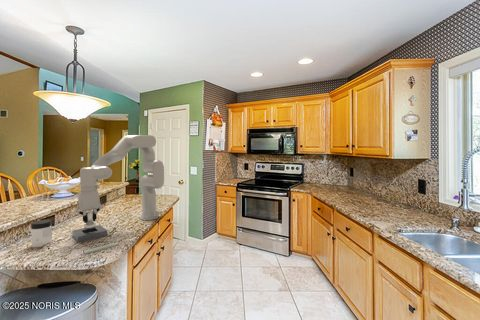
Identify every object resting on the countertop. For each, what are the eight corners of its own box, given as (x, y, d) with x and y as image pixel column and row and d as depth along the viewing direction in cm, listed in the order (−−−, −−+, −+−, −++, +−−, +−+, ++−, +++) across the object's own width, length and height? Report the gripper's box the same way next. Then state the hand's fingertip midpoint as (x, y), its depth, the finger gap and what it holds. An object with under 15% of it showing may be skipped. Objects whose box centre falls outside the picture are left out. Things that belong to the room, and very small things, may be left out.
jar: (26, 248, 116) (25, 224, 115) (37, 242, 124) (36, 220, 123) (47, 246, 118) (46, 223, 117) (56, 240, 126) (55, 218, 125)
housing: (100, 231, 140) (100, 224, 140) (107, 237, 130) (107, 230, 130) (72, 237, 130) (72, 230, 130) (77, 244, 120) (77, 237, 120)
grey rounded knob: (94, 225, 134) (93, 210, 134) (97, 227, 130) (96, 212, 130) (83, 227, 130) (82, 212, 130) (85, 230, 126) (84, 214, 126)
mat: (109, 239, 127) (109, 237, 127) (117, 245, 119) (117, 244, 119) (79, 246, 117) (79, 245, 117) (85, 254, 109) (85, 252, 109)
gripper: (103, 186, 138) (104, 217, 138) (69, 190, 126) (70, 223, 127) (107, 188, 132) (108, 219, 133) (72, 192, 121) (73, 226, 121)
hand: (89, 221), depth 130 cm, fingers closed on grey rounded knob, 3 cm apart
